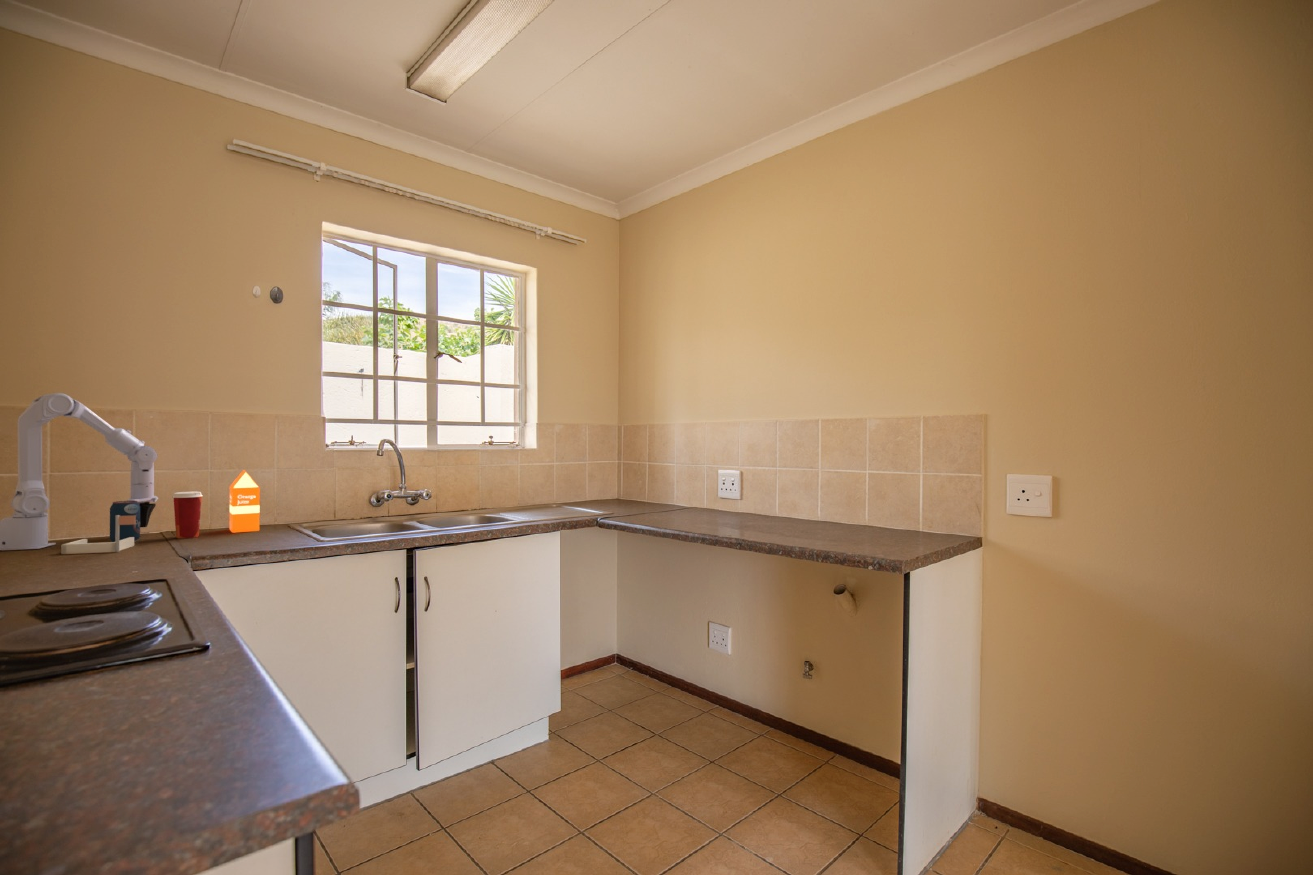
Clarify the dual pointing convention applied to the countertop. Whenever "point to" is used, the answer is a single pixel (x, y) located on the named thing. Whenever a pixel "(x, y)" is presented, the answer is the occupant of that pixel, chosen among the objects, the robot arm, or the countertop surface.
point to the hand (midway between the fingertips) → (142, 527)
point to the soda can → (125, 510)
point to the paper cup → (187, 514)
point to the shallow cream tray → (116, 546)
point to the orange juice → (244, 504)
